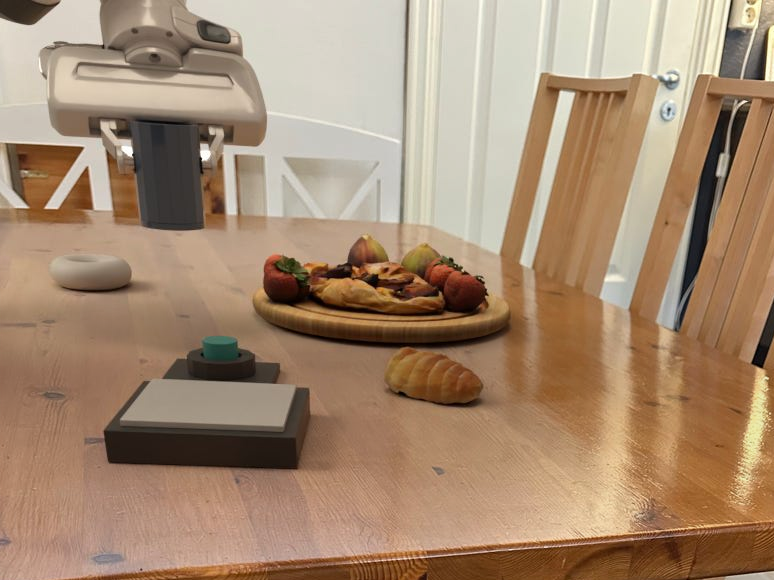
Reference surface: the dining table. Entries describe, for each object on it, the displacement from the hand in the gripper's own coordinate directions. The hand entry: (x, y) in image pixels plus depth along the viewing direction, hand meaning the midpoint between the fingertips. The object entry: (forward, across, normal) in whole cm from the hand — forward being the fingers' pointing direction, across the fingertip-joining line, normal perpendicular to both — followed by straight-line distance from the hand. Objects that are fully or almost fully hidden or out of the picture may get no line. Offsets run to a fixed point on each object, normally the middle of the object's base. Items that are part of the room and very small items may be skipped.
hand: (169, 171), depth 89 cm
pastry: (+25, +21, -1) cm, 33 cm away
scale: (+32, 0, -8) cm, 33 cm away
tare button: (+19, +2, +2) cm, 19 cm away
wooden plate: (+2, +25, +22) cm, 33 cm away
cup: (+3, 0, +4) cm, 5 cm away
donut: (-12, -8, +36) cm, 39 cm away
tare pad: (+20, +2, +4) cm, 21 cm away
